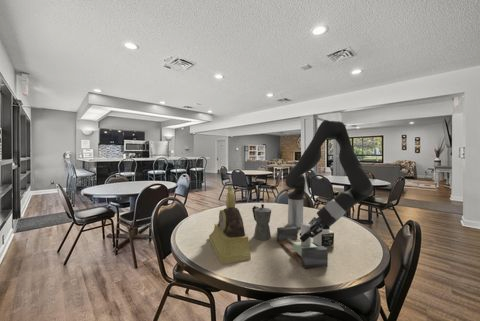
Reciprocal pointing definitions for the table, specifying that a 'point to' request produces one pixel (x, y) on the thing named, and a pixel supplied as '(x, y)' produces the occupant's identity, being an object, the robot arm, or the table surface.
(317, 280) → the table surface
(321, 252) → the rail
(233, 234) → the decorative clock
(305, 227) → the carriage
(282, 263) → the table surface
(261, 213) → the coffeepot
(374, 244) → the table surface
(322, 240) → the medicine bottle
